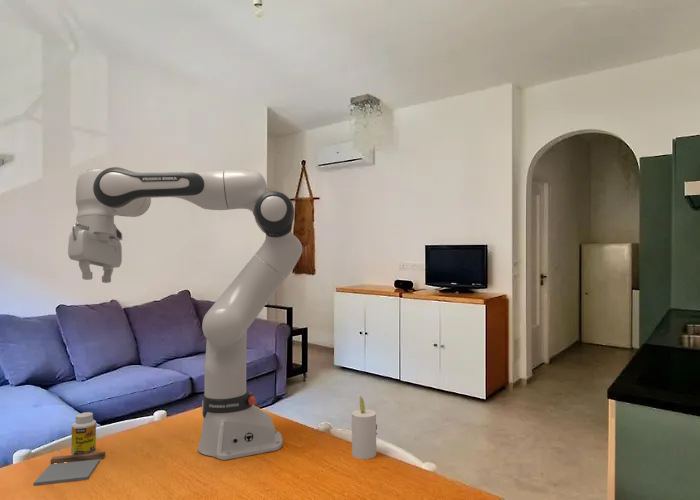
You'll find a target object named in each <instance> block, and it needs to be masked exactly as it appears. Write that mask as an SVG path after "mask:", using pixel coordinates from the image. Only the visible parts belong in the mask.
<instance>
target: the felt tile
mask: <svg viewBox="0 0 700 500" xmlns="http://www.w3.org/2000/svg"><path fill="white" fill-rule="evenodd" d="M100 462H101V459H96V460H86V461H77V462H67V463H57V464H51V463H50V464H49V465H48V466H47V468H46V469H44V471H43V472H41V474H40V475H39V476H38V478H36V480H35V481H33V484H32V485H34V486H41V485H40V484H43V485H50V484H59V483H68V482H77V481H85V480H89V479H90V477H91V475H92V474H93V472H94V471H95V470H96V468H97V467H98V465H99V464H100Z"/></svg>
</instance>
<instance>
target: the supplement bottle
mask: <svg viewBox="0 0 700 500" xmlns="http://www.w3.org/2000/svg"><path fill="white" fill-rule="evenodd" d="M96 445H97V421H96V420H95V419H94V413H93V412H91V411H90V412H89V411H87V412H86V411H85V412H82V413H81V412H80V413H78V414H76V415H75V422H73V423H72V424H71V454H70V455H77V454H87V453H96V449H97V446H96Z"/></svg>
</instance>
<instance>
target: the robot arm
mask: <svg viewBox="0 0 700 500" xmlns="http://www.w3.org/2000/svg"><path fill="white" fill-rule="evenodd" d="M152 198H153V199H154V198H158V199H159V198H177V199H181V200H184V201H187V202H189V203H192V204H194V205H195V206H197V207H200V208H201V209H204V210H209V211H228V210H229V211H230V210H240V209H244V210H248V211H250V212H252V214H253V217H254V220H255V223H256V225H257V227H258V228H259V229H260V230H261V232H263V233H264V234H265V240H264V241H263V243H262V244H261V246H260V247H259V249H258V250H257V251H256V252H255V254H254V255H253V256H252V257H251V258H250V260H248V262H247V263H246V265H245V266H244V267H243V268H242V269H241V271H240V272H239V273H238V275H237V276H236V277H235V278H234V280H232V282H231V283H230V284H229V285H228V286H227V288H225V290H224V291H223V292H222V293H221V295H220V296H219V297H218V298H217V300H216V301H215V302H214V304H213V305H212V306H211V307H210V308H209V309H208V311H207V312H206V313H205V314H204V316H203V320H202V323H201V324H202V325H201V329H202V332H203V333H202V334H203V336H204V337H205V339H206V342H205V343H206V344H205V345H206V346H205V358H204V392H203V396H202V400H201V406H202V407H201V414H202V417H203V420H202V428H201V434H200V439H199V442H198V447H197V451H198V452H199V453H200V454H202V455H205V456H209V457H215V458H217V459H218V460H223V461H224V460H225V461H227V460H232V459H237V458H243V457H247V456H252V455H257V454H263V453H269V452H274V451H278V450H280V448H282V447H283V444H284V441H283V440H284V439H283V435H282V434H281V432H280V431H278V430H276V429H275V425H274V421H273V420H272V416H270V415H269V413H267V412H266V411H263V410H262V409H260V408H259V407H258V406H256V403H257V399H256V397H255V396H254V393H252V391H248V390H247V348H248V347H247V346H248V345H247V337H248V336H247V334H248V329H249V328H250V326H251V325H252V324H253V322H254V321H255V320H256V318H257V317H258V316H259V314H260V313H261V312H262V311H263V309H264V308H265V306H266V305H267V303H268V302H269V301H270V300H271V298H272V297H273V296H274V294H275V293H276V292H277V291H278V289H279V288H280V287H281V286H282V284H283V283H284V282H285V281H286V279H287V278H288V277H289V275H290V274H291V272H292V271H293V270H294V269H295V266H296V265H297V263H298V262H299V260H300V259H301V256H302V253H303V245H302V243H301V241H300V239H299V238H298V237H297V236H296V235H295V234H293V231H292V229H293V222H294V219H295V207H294V204H293V202H292V200H291V198H289V196H288V195H286V194H284V193H282V192H280V191H277V190H274V191H273V190H271V191H268V185H267V181H266V179H265V177H264V176H263V175H262V174H261V173H260V172H258V171H255V170H248V169H247V170H246V169H222V170H210V171H209V170H208V171H200V172H199V171H193V172H192V171H191V172H183V171H181V172H179V171H176V172H172V171H170V172H168V171H167V172H135V171H132V170H128V169H125V168H122V167H119V166H118V167H117V166H114V167H109V168H105V169H102V168H91V169H87V170H85V171H83V172H80V174H79V175H78V178H77V180H76V187H75V204H76V205H75V206H76V207H77V214H76V217H75V220H76V221H75V222H76V223H74V225H72V228H71V229H72V230H71V232H70V234H69V236H68V246H67V247H68V248H67V255H68V257H69V259H70V260H73V261H76V262H78V266H79V270H80V271H81V273H82V275H81V277H82V280H85V281H89V280H93V277H94V276H93V271H91V267H90V265H93V266H97V267H102V271H103V275H102V276H101V282H102V283H104V284H108V283H109V284H111V282H112V275H113V272H114V268H115V269H116V268H120V267H121V265H122V262H123V261H122V257H123V256H122V255H123V252H122V251H123V250H122V243H121V241H123V232H121V231H120V230H119V228H118V227H117V226H116V224H115V216H120V217H128V218H129V217H130V218H131V217H132V218H134V217H135V218H136V217H140V216H142V215H144V214H145V213H146V212H147V211H148V210H149V208H150V206H151V203H152Z"/></svg>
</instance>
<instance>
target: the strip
mask: <svg viewBox="0 0 700 500" xmlns="http://www.w3.org/2000/svg"><path fill="white" fill-rule="evenodd" d="M104 457H106V451H98V452H97V451H96V452H94V453H87V454H77V455H72V454H68V455H58V456H52V457H51V459H50V464H54V463H64V462H77V461H86V460H96V459H100V460H103V459H102V458H104ZM104 459H105V458H104Z"/></svg>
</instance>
